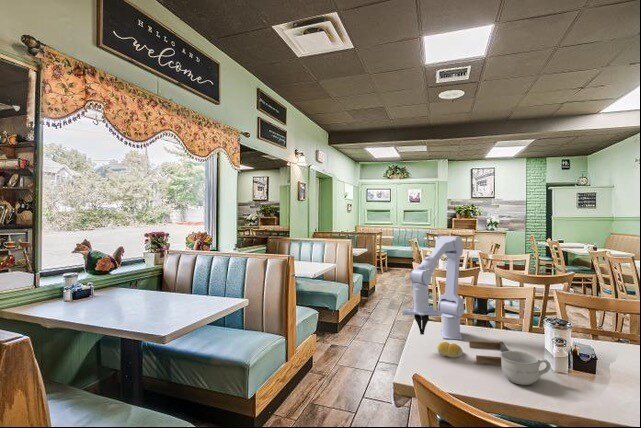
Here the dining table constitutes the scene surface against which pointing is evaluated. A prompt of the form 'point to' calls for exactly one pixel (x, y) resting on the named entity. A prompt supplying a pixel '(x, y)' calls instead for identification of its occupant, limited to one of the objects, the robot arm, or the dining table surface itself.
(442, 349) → the bread roll
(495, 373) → the dining table surface
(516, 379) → the teacup
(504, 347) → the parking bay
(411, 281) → the robot arm
